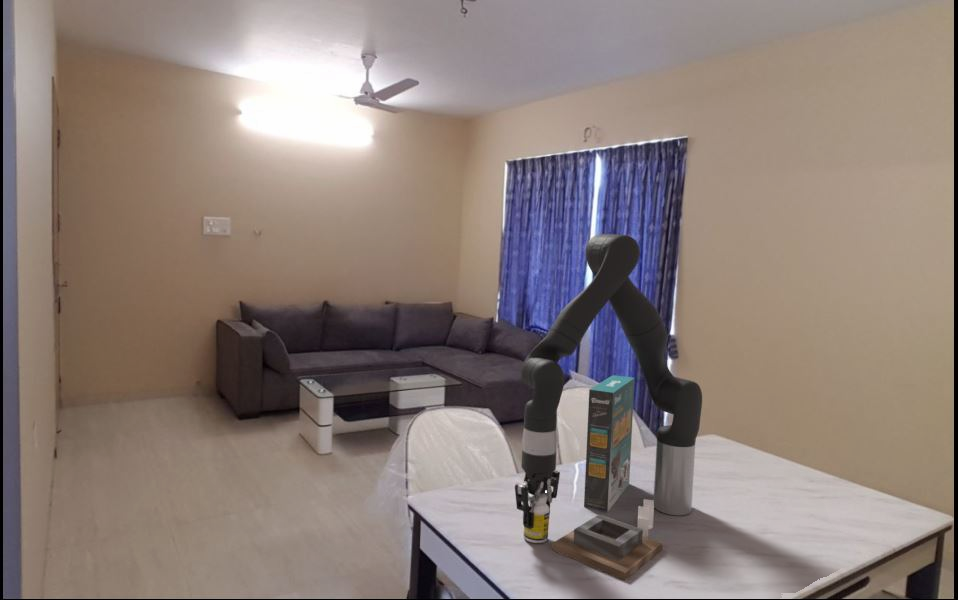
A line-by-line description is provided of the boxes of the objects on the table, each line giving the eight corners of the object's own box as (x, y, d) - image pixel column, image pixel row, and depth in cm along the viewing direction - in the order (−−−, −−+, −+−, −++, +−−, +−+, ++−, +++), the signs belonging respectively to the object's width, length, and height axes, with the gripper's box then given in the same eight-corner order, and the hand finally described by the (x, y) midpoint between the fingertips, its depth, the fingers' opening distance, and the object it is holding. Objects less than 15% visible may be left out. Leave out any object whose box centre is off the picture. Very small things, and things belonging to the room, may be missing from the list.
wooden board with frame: (593, 524, 139) (594, 505, 138) (662, 549, 128) (663, 529, 127) (552, 549, 126) (553, 529, 126) (624, 580, 115) (626, 558, 115)
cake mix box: (607, 479, 168) (613, 375, 166) (629, 483, 165) (634, 377, 163) (583, 506, 149) (589, 389, 147) (607, 512, 146) (613, 392, 144)
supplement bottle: (547, 545, 128) (548, 501, 127) (522, 542, 129) (523, 498, 128) (549, 534, 133) (550, 491, 132) (525, 531, 134) (526, 489, 133)
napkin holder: (646, 549, 129) (647, 524, 128) (606, 529, 138) (608, 505, 137) (688, 532, 137) (689, 508, 137) (648, 514, 146) (649, 492, 146)
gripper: (533, 460, 121) (530, 539, 123) (571, 444, 132) (568, 518, 134) (505, 451, 126) (502, 528, 128) (544, 437, 137) (541, 508, 138)
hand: (536, 522), depth 131 cm, fingers closed on supplement bottle, 5 cm apart
